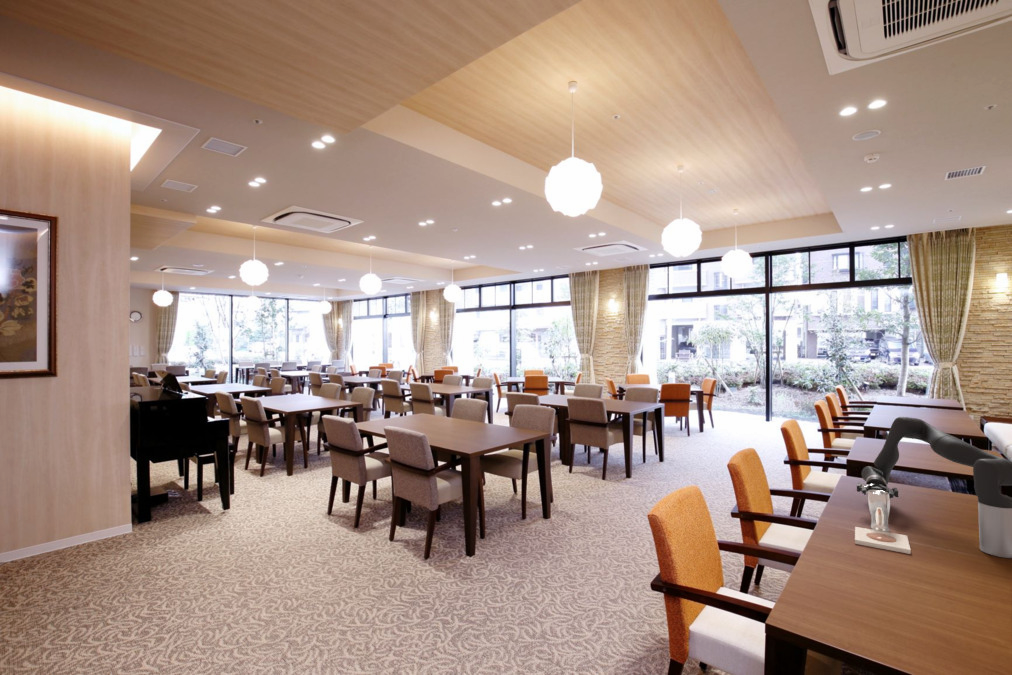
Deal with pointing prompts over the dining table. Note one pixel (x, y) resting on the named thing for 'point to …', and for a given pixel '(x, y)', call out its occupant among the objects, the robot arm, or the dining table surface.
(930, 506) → the dining table surface
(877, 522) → the shiny silver metal cup
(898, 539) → the ceramic tile
